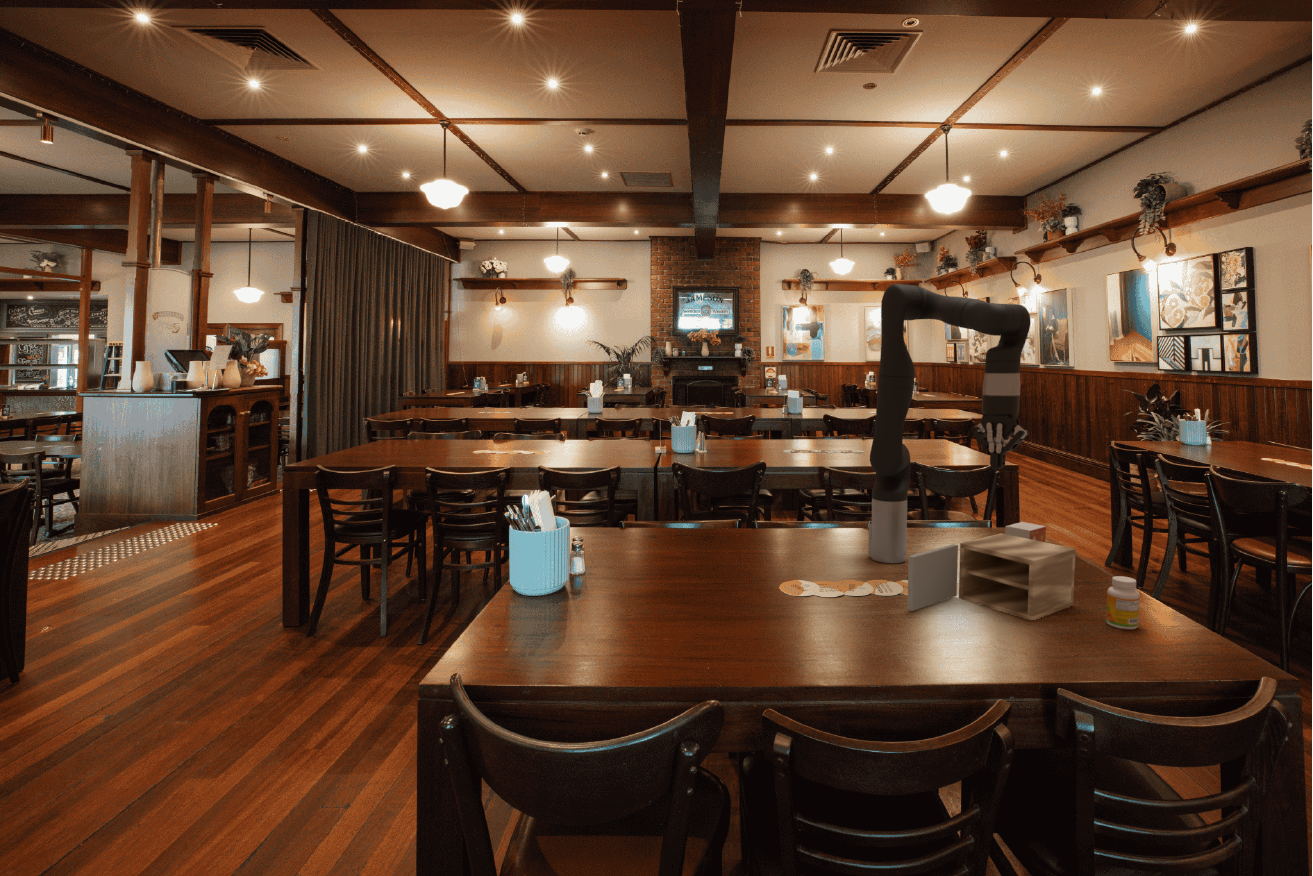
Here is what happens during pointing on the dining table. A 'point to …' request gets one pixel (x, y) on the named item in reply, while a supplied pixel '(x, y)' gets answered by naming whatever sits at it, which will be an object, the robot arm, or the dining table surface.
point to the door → (932, 576)
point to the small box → (1027, 531)
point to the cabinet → (1017, 575)
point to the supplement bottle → (1123, 603)
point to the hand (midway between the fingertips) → (997, 468)
